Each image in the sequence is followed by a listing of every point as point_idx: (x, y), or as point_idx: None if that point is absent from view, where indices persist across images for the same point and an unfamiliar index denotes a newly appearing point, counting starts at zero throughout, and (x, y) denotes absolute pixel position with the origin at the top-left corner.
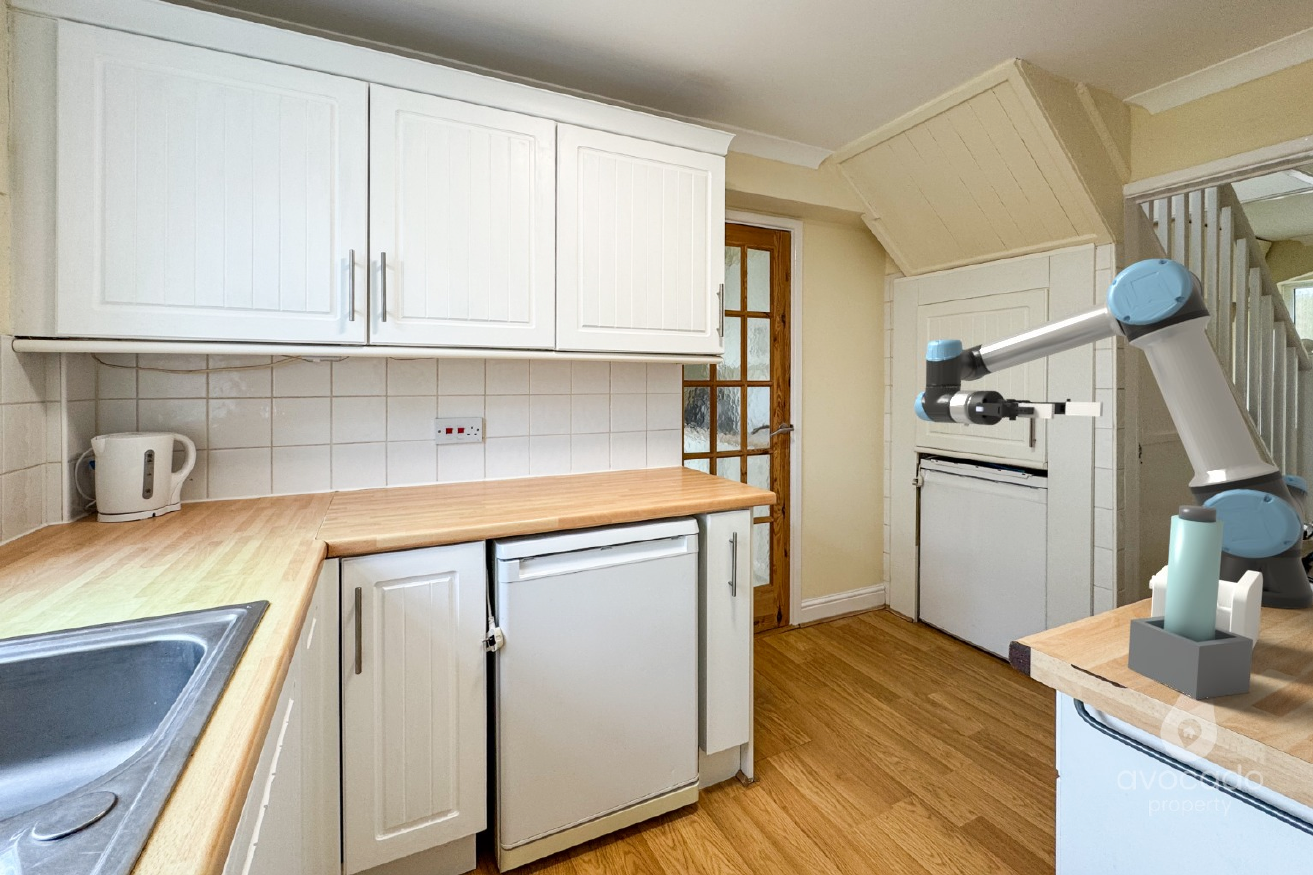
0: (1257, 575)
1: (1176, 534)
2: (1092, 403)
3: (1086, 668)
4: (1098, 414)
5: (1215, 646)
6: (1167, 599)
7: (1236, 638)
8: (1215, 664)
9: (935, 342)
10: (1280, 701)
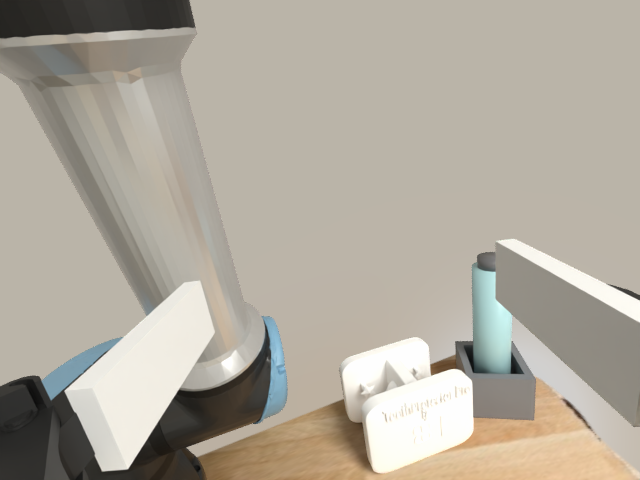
0: (365, 352)
1: None
2: (186, 300)
3: (585, 430)
4: (209, 329)
5: None
6: (510, 342)
7: (466, 344)
8: None
9: None
10: (446, 366)
